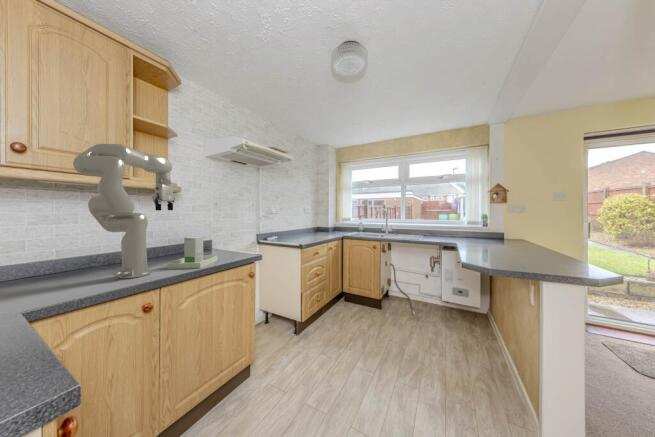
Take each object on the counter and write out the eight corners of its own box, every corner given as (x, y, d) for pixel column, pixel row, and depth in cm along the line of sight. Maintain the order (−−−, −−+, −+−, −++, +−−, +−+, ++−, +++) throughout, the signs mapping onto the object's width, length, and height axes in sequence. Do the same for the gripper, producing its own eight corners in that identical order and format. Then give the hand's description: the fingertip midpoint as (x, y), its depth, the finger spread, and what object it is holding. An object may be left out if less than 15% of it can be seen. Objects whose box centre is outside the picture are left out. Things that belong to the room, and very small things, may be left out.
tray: (200, 268, 126) (200, 262, 126) (167, 268, 125) (167, 263, 125) (217, 260, 146) (217, 255, 146) (189, 260, 146) (188, 256, 146)
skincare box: (184, 263, 134) (183, 237, 133) (193, 261, 140) (192, 236, 139) (195, 264, 132) (194, 237, 131) (204, 261, 138) (203, 236, 138)
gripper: (158, 180, 130) (159, 210, 131) (178, 184, 148) (180, 210, 148) (145, 181, 131) (147, 210, 131) (167, 184, 148) (169, 210, 149)
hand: (164, 210), depth 140 cm, fingers open, 9 cm apart
